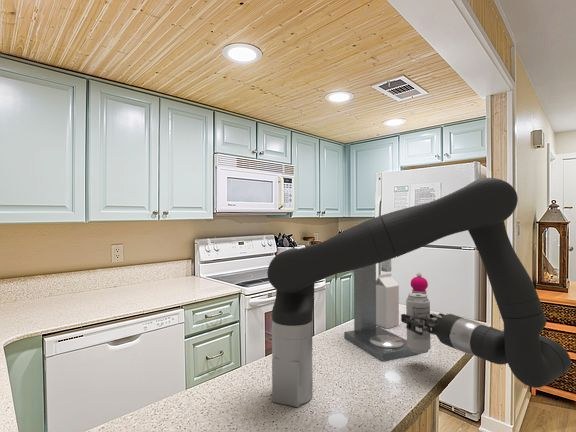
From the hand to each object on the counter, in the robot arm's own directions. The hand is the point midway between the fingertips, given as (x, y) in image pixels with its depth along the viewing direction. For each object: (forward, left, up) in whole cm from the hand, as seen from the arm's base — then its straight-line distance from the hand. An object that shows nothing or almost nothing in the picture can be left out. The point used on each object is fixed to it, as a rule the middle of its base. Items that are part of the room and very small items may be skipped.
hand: (411, 316), depth 94 cm
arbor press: (+12, +7, -13) cm, 19 cm away
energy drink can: (-2, -2, -9) cm, 9 cm away
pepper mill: (+33, -1, -13) cm, 36 cm away
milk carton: (+31, +11, -13) cm, 36 cm away
